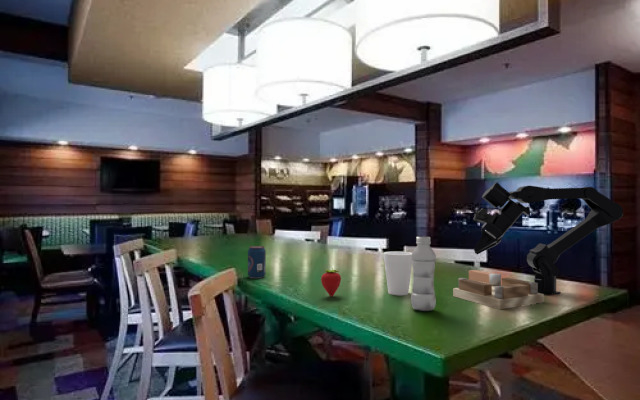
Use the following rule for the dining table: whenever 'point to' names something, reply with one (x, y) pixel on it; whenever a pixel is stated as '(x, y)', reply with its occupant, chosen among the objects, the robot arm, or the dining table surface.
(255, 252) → the soda can
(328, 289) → the strawberry
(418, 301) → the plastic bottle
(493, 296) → the flat cream base board
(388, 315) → the dining table surface
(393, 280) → the foam cup
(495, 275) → the hinged leg
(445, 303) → the dining table surface
